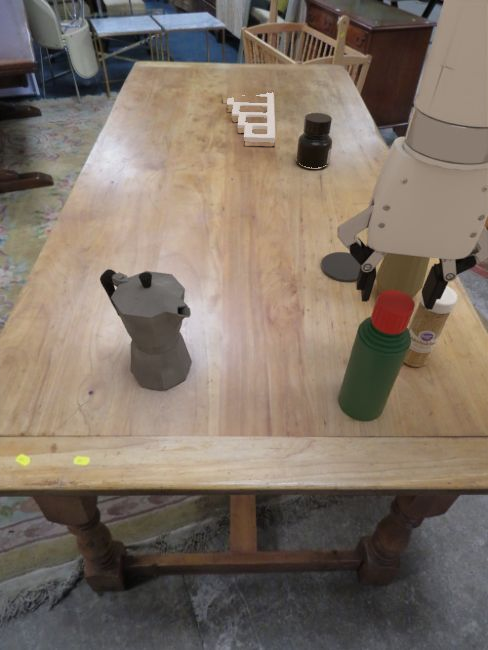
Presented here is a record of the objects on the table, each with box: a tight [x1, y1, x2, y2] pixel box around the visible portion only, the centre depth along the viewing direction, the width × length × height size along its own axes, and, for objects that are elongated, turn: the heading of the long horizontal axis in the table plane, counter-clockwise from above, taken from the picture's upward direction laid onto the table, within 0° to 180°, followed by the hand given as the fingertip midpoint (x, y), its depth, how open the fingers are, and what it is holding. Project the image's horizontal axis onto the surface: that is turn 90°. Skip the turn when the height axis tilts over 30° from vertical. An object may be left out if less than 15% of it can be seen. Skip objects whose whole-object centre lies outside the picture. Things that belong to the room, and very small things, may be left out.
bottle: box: [337, 316, 411, 422], centre depth 56 cm, size 6×6×19 cm
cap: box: [370, 290, 416, 334], centre depth 50 cm, size 4×4×3 cm
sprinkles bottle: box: [403, 285, 459, 368], centre depth 64 cm, size 5×5×13 cm
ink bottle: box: [295, 112, 333, 168], centre depth 114 cm, size 10×9×12 cm
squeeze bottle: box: [375, 253, 431, 299], centre depth 73 cm, size 8×8×18 cm
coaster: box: [320, 251, 361, 283], centre depth 85 cm, size 9×9×1 cm
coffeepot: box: [99, 268, 193, 391], centre depth 61 cm, size 15×9×18 cm, turn 57°
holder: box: [226, 92, 276, 143], centre depth 141 cm, size 45×18×3 cm, turn 178°
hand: (395, 296), depth 49 cm, fingers open, 6 cm apart
